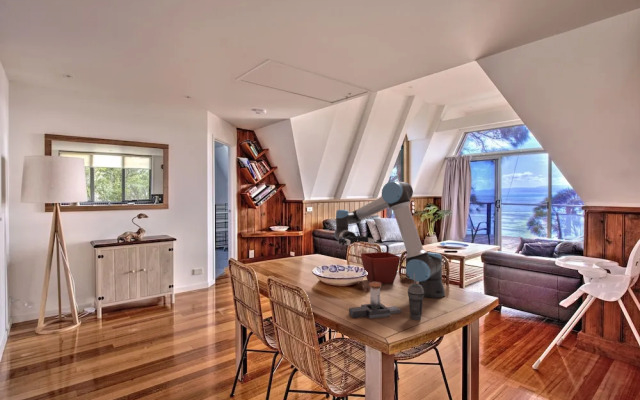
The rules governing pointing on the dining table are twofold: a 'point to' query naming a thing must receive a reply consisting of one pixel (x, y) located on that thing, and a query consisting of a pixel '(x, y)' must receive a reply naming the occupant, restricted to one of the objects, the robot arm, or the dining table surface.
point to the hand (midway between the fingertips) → (361, 242)
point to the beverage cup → (415, 300)
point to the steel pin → (375, 295)
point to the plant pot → (380, 266)
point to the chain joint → (372, 311)
